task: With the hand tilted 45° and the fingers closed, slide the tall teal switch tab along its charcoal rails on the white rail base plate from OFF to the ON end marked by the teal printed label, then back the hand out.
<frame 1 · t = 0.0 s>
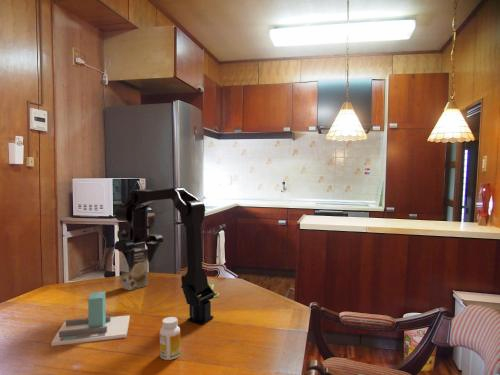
hand: (140, 264, 129), 15 cm above the table, tool pointing down, fingers open, 9 cm apart
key: (210, 294, 140), on the table
coffee box: (134, 287, 148), on the table
switch tab: (97, 310, 107), point 6 cm above the table, slide at 0.0 cm
white rail base plate: (94, 330, 107), on the table
supplement bottle: (170, 355, 93), on the table
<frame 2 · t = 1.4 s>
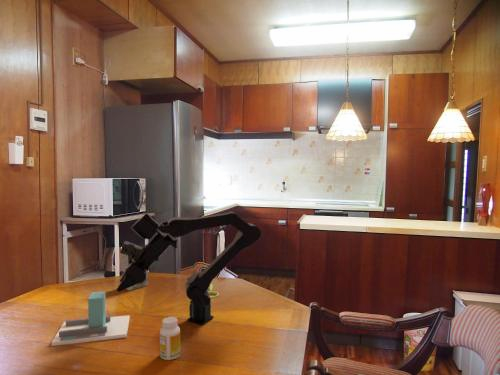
hand: (119, 286, 108), 13 cm above the table, tool tilted 45°, fingers open, 8 cm apart
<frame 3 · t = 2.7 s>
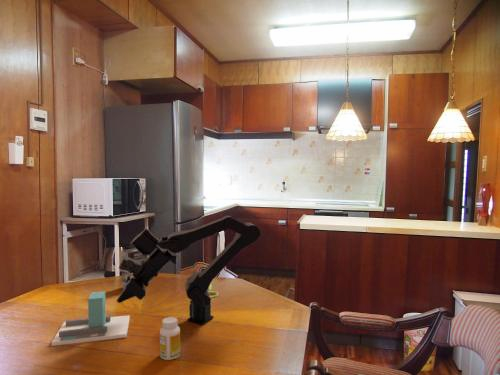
hand: (117, 301, 108), 9 cm above the table, tool tilted 45°, fingers closed
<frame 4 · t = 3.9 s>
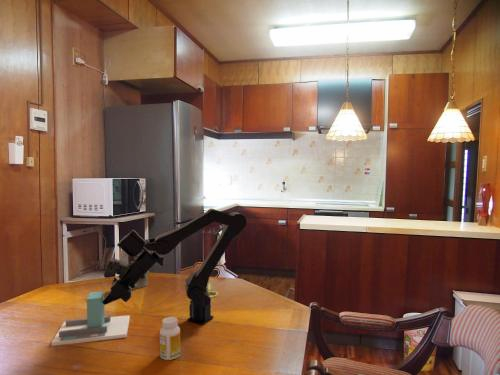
hand: (103, 303, 107), 8 cm above the table, tool tilted 45°, fingers closed, pressing on switch tab
switch tab: (96, 311, 107), point 6 cm above the table, slide at 0.4 cm, touching gripper
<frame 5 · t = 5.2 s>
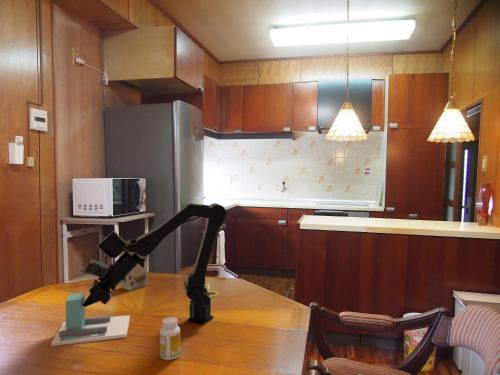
hand: (83, 305, 106), 8 cm above the table, tool tilted 45°, fingers closed
switch tab: (75, 312, 105), point 6 cm above the table, slide at 6.1 cm
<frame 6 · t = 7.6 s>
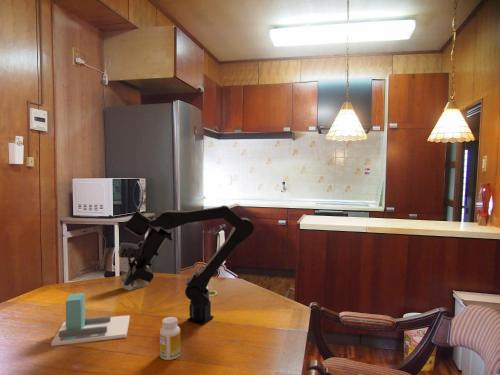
hand: (125, 284, 112), 13 cm above the table, tool tilted 35°, fingers closed
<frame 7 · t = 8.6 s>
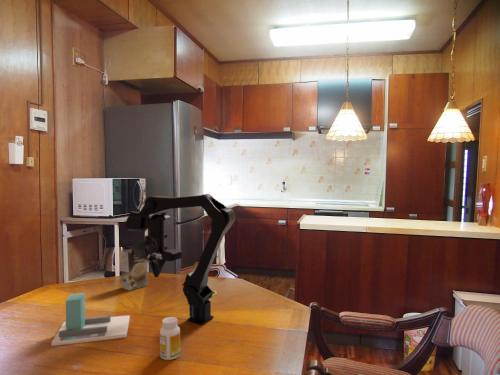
hand: (156, 276, 119), 13 cm above the table, tool pointing down, fingers closed
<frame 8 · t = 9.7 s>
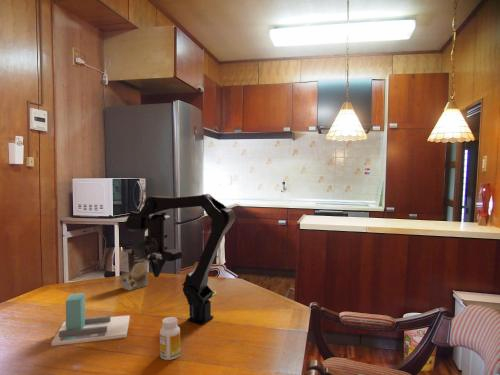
hand: (156, 276, 119), 13 cm above the table, tool pointing down, fingers closed
at the end: switch tab slide at 6.1 cm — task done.
